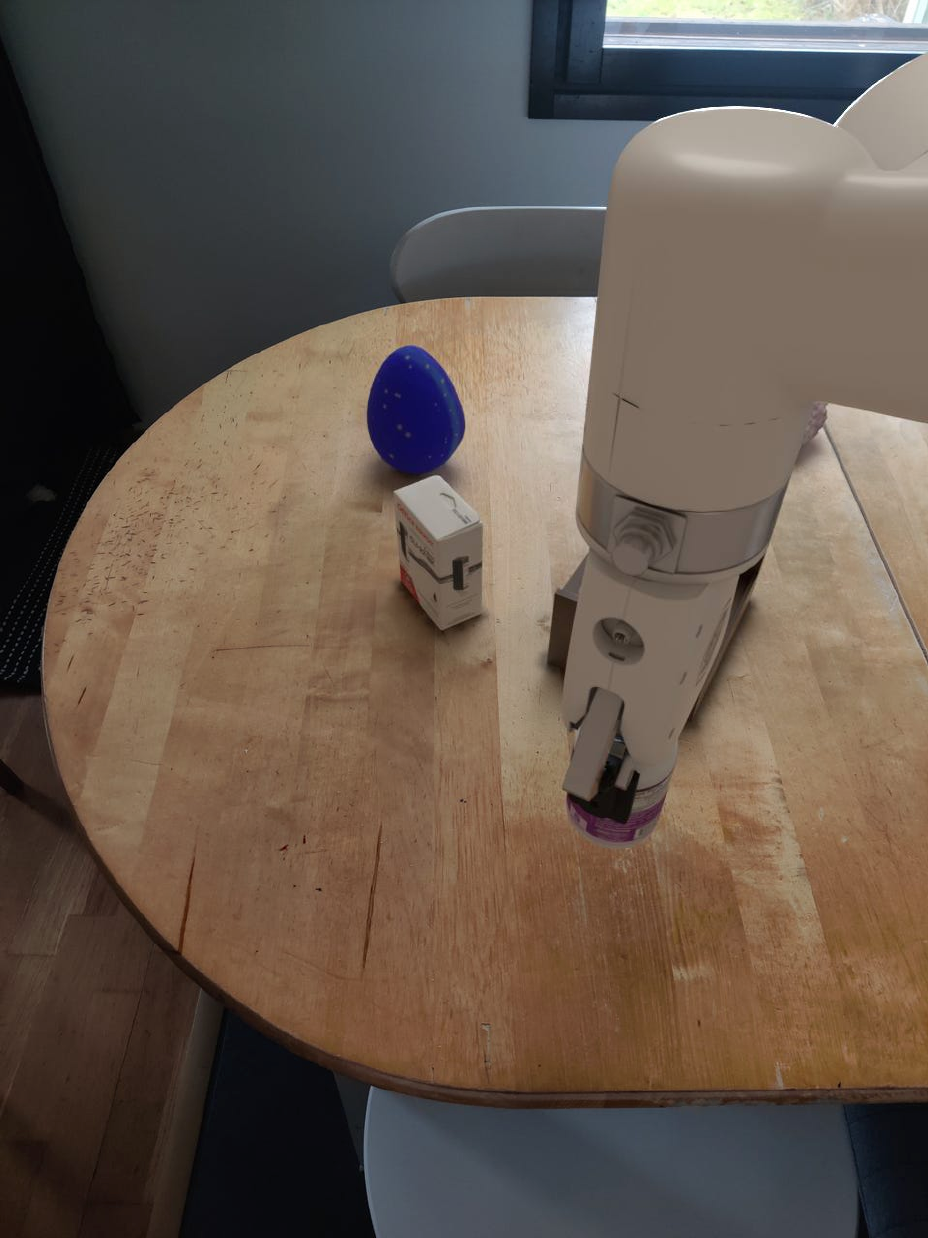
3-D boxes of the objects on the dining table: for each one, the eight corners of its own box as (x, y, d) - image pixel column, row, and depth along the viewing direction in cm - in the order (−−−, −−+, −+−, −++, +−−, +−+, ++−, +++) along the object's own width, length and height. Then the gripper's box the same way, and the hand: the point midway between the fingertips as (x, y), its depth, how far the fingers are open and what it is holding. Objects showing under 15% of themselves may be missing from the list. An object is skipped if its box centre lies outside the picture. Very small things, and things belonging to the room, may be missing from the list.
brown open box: (750, 599, 85) (773, 530, 79) (691, 722, 75) (713, 654, 68) (619, 553, 90) (631, 484, 84) (546, 662, 80) (554, 593, 73)
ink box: (398, 580, 87) (391, 487, 79) (440, 564, 89) (438, 470, 80) (440, 633, 82) (437, 539, 74) (483, 614, 84) (486, 520, 75)
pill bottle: (557, 775, 51) (569, 668, 44) (646, 768, 51) (672, 661, 44) (572, 858, 47) (588, 755, 40) (668, 850, 47) (701, 747, 40)
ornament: (475, 461, 101) (477, 344, 91) (430, 501, 96) (426, 382, 85) (401, 431, 106) (394, 316, 95) (353, 468, 100) (341, 350, 90)
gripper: (702, 678, 26) (628, 935, 39) (830, 405, 36) (738, 680, 49) (483, 596, 29) (482, 863, 42) (661, 363, 39) (616, 635, 52)
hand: (621, 761), depth 45 cm, fingers closed on pill bottle, 5 cm apart
